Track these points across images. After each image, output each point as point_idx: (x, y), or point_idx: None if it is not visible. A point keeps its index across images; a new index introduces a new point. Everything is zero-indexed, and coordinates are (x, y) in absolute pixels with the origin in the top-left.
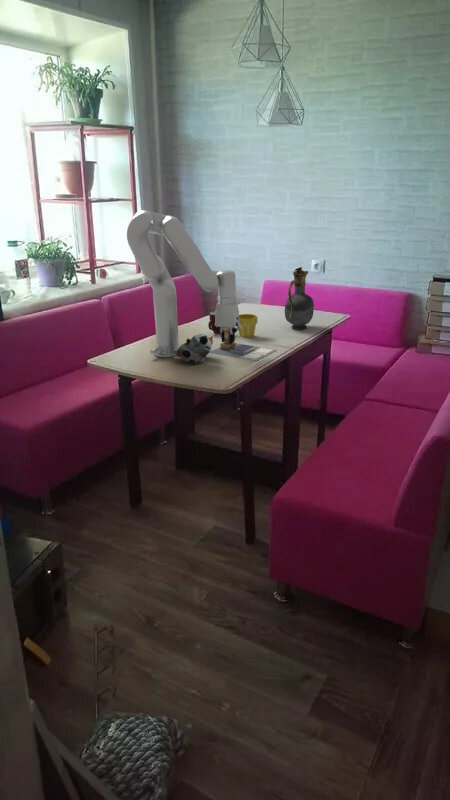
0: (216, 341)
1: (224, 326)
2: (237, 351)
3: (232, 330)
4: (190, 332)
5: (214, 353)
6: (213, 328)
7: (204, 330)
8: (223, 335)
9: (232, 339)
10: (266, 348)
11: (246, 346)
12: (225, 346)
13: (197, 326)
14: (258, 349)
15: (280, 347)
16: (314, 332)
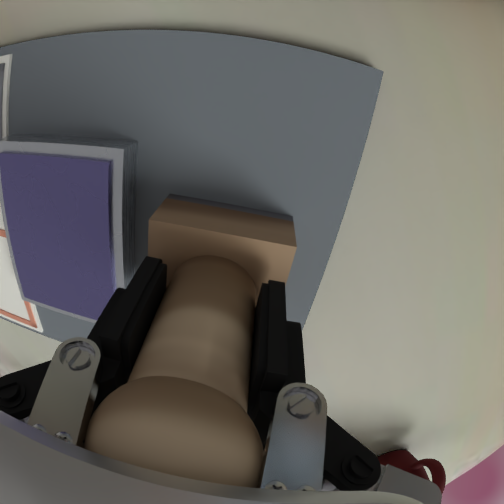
0: (387, 392)
1: (133, 486)
2: (49, 139)
3: (42, 393)
4: (498, 423)
5: (295, 49)
6: (416, 469)
7: (446, 454)
8: (257, 352)
9: (115, 298)
10: (4, 310)
11: (51, 281)
12: (218, 221)
13: (464, 461)
14: (17, 286)
15: (9, 352)
16: None
